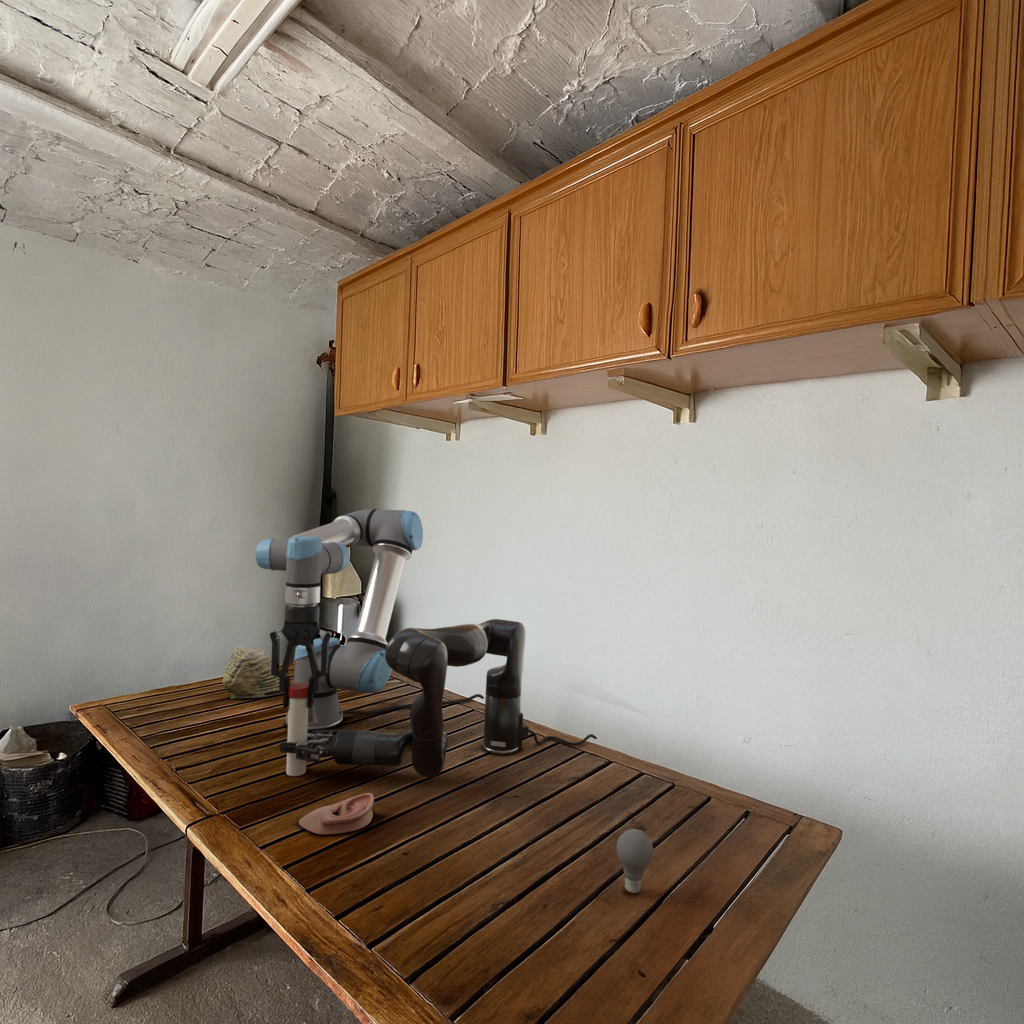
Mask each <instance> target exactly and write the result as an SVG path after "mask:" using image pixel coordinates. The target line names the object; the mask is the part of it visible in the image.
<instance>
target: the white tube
mask: <svg viewBox="0 0 1024 1024" xmlns="http://www.w3.org/2000/svg"><path fill="white" fill-rule="evenodd" d="M288 708H289V712H288V711H287V713H288V727H287V738H286V739H287V740H286V742H296V743H305V742H307V733H308V732H307V728H308V697H304V698H291V697H289V705H288ZM305 747H306V746H305ZM285 766H286V768H285V770H286V771H285V773H286V775H287V776H290V777H299V776H302V775H305V773H306V772H307V761H305V760H300V759H296V753H286V765H285Z"/></svg>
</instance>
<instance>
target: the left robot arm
mask: <svg viewBox="0 0 1024 1024" xmlns="http://www.w3.org/2000/svg"><path fill="white" fill-rule="evenodd" d="M423 541H424V530H423V523H422V520H421V518H420V516H419V514H418V513H417V512H415V511H412V510H406V509H382V508H381V509H380V508H364V509H360V510H356V511H352V512H349V513H346V514H343V515H340V516H337V517H336V518H335V519H334V520H333V521H332V522H330V523H327V524H324V525H320V526H318V527H315V528H312V529H308V530H306V531H303V532H300V533H297V534H294V535H292V536H288V537H284V538H282V539H281V538H280V539H275V538H271V539H267V538H266V539H263V540H261V541H260V542H258V543H257V546H256V548H255V554H254V555H255V562H256V565H257V566H258V567H259V568H261V569H264V570H271V571H280V572H281V571H282V572H286V573H285V576H286V577H285V578H286V579H285V590H284V591H285V592H284V593H285V596H284V602H285V604H286V605H285V606H284V618H283V625H282V627H281V628H280V629H277V630H276V629H273V631H271V632H270V633H269V638H270V641H271V659H272V660H271V675H273V676H277V677H279V679H280V680H279V691H280V692H283V703H282V704H283V705H282V708H283V709H287V713H286V715H285V726H286V728H288V712H289V696H288V688H289V685H291V675H288V672H289V668H290V665H291V662H292V659H293V656H294V659H293V660H294V672H293V684H294V683H307V684H309V693H308V728H307V733H312V731H318V730H334V729H335V728H337V727H339V726H340V725H342V723H343V722H344V715H372V714H373V715H374V714H379V713H383V712H386V711H391V710H396V709H406V708H407V709H409V708H411V706H412V704H413V703H409V704H397V705H390V706H385V707H382V708H378V709H373V710H372V709H371V710H343V709H342V706H341V702H340V699H339V695H338V690H342V691H351V692H358V693H360V694H364V693H367V694H368V693H369V694H374V693H375V694H376V693H378V692H380V691H381V690H382V689H383V688H384V687H385V686H386V685H387V684H388V681H389V680H390V677H391V675H392V672H393V669H391V668H390V667H389V666H388V664H387V662H386V659H385V650H386V647H387V645H388V643H389V642H387V639H386V638H387V635H388V631H389V626H390V622H391V619H392V614H393V610H394V606H395V601H396V598H397V593H398V591H399V586H400V582H401V577H402V573H403V569H404V566H405V562H406V561H408V560H410V559H411V558H412V554H413V551H418V550H420V549H421V547H422V545H423ZM353 547H371V548H372V550H373V552H374V554H375V557H374V560H373V565H372V568H371V572H370V576H369V578H368V579H369V580H368V582H367V587H366V589H365V594H364V598H363V601H362V605H361V610H360V613H359V615H358V620H357V624H356V627H355V631H354V633H353V634H351V635H350V636H348V637H347V640H346V644H345V645H341V641H340V639H339V638H337V637H332V636H333V632H332V631H331V630H328V631H326V630H324V629H322V627H321V625H320V605H319V603H320V602H321V578H322V577H321V576H326V575H331V574H333V575H334V574H336V573H340V572H342V571H344V570H345V569H346V568H347V567H348V566H349V564H350V561H351V555H350V551H349V549H348V548H353ZM319 635H320V636H319ZM283 636H284V638H286V640H287V641H288V643H287V647H286V650H285V654H284V658H283V662H282V665H281V667H280V662H281V661H280V660H281V658H280V657H281V639H282V638H283ZM318 636H319V637H318ZM317 637H318V638H317ZM294 651H295V652H294ZM294 653H295V654H294ZM476 698H480V699H482V700H484V699H485V697H484V695H482V694H481V693H476V694H474V695H471V696H469V697H465V699H464V698H459V699H453V700H446V701H442V706H446V705H453V704H458V703H465V702H469V701H472V700H474V699H476Z"/></svg>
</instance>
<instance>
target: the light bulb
mask: <svg viewBox="0 0 1024 1024" xmlns="http://www.w3.org/2000/svg"><path fill="white" fill-rule="evenodd" d="M615 849H616V854H617V857H618V859H619V861H620V863H621V865H622V867H623V873H624V874H623V875H624V876H625V878H624V888H625V890H627V891H628V892H630V893H634V894H635V893H639V892H640V891H641V889H642V887H641V886H642V879H643V877H644V875H645V871H646V868H647V867H648V866H649V864H650V863H651V861H652V859H653V855H654V847H653V843H652V841H651V838H649V836H648V835H647V834H646V833H645V832H643V831H642V830H641V829H636V828H629V829H627V830H625V831H623V832H622V833H621V834H620V835H619V837H618V839H617V841H616V847H615Z"/></svg>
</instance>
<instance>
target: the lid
mask: <svg viewBox="0 0 1024 1024" xmlns="http://www.w3.org/2000/svg"><path fill="white" fill-rule="evenodd" d="M308 693H309V684H307V683H294V682H293V683H290V685H289V688H288V696H289V697H291V698H304V697H308Z"/></svg>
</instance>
